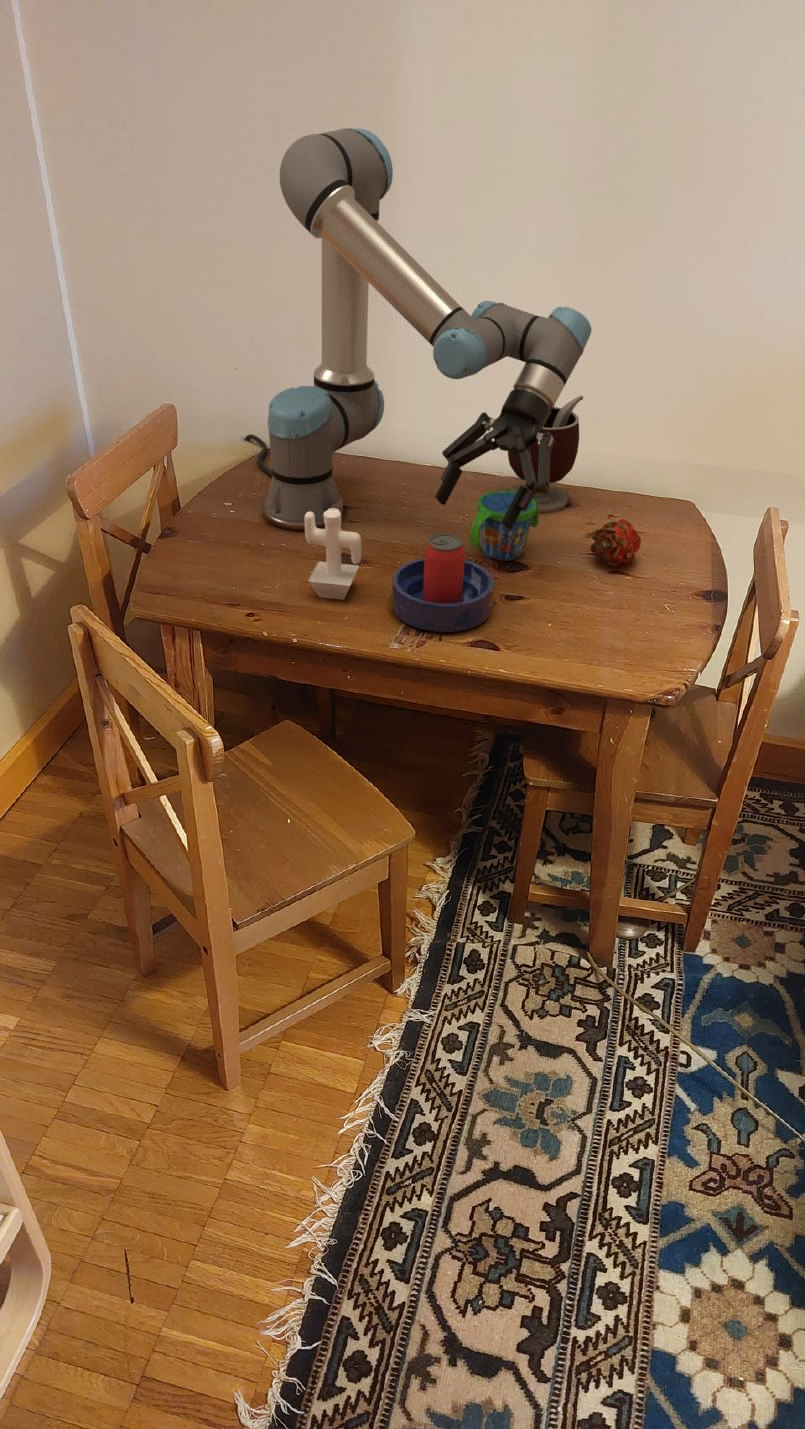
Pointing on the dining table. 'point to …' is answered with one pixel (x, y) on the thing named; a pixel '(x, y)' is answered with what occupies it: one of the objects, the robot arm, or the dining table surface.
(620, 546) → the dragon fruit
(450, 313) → the robot arm
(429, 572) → the beer can
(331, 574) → the figurine
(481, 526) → the snack cup
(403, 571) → the bowl
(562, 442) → the mate gourd
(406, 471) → the dining table surface
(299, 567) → the dining table surface
